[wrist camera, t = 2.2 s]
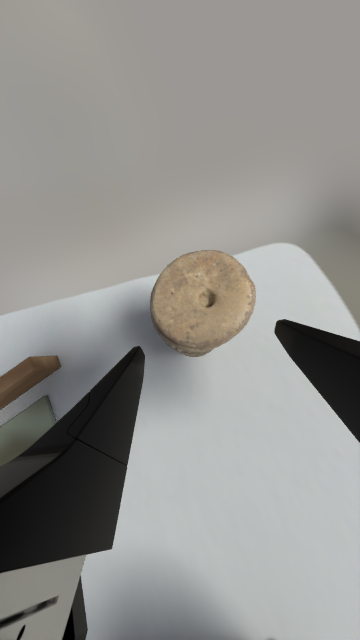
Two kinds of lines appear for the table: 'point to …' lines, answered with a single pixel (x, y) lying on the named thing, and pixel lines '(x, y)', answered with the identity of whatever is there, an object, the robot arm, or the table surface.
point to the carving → (201, 301)
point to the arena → (33, 420)
